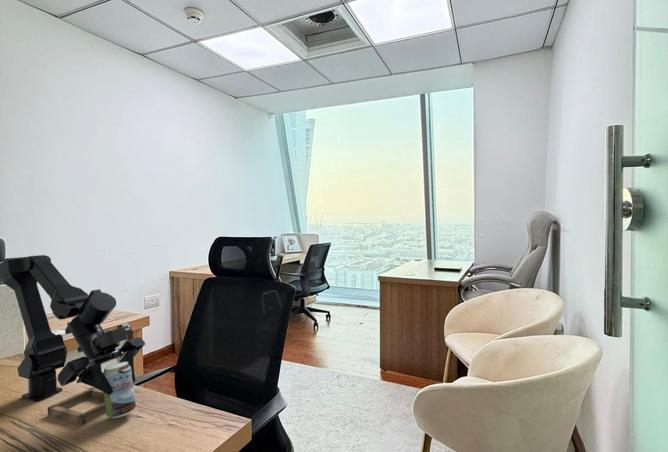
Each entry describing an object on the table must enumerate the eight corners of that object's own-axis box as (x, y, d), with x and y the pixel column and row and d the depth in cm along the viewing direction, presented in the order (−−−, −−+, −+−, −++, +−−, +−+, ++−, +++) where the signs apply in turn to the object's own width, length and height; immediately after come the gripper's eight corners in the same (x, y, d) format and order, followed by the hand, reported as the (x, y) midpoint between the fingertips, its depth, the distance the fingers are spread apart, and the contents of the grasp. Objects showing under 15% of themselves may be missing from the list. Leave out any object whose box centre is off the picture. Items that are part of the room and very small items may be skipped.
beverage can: (122, 423, 80) (121, 371, 80) (95, 419, 81) (94, 368, 81) (142, 408, 86) (141, 360, 86) (116, 405, 88) (116, 358, 87)
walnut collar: (47, 415, 84) (47, 407, 84) (92, 394, 95) (92, 387, 95) (81, 425, 80) (81, 416, 80) (124, 402, 90) (124, 394, 90)
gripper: (66, 326, 76) (102, 385, 72) (140, 306, 93) (172, 353, 90) (42, 357, 79) (76, 415, 75) (118, 332, 96) (149, 378, 93)
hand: (123, 387), depth 83 cm, fingers closed on beverage can, 5 cm apart
